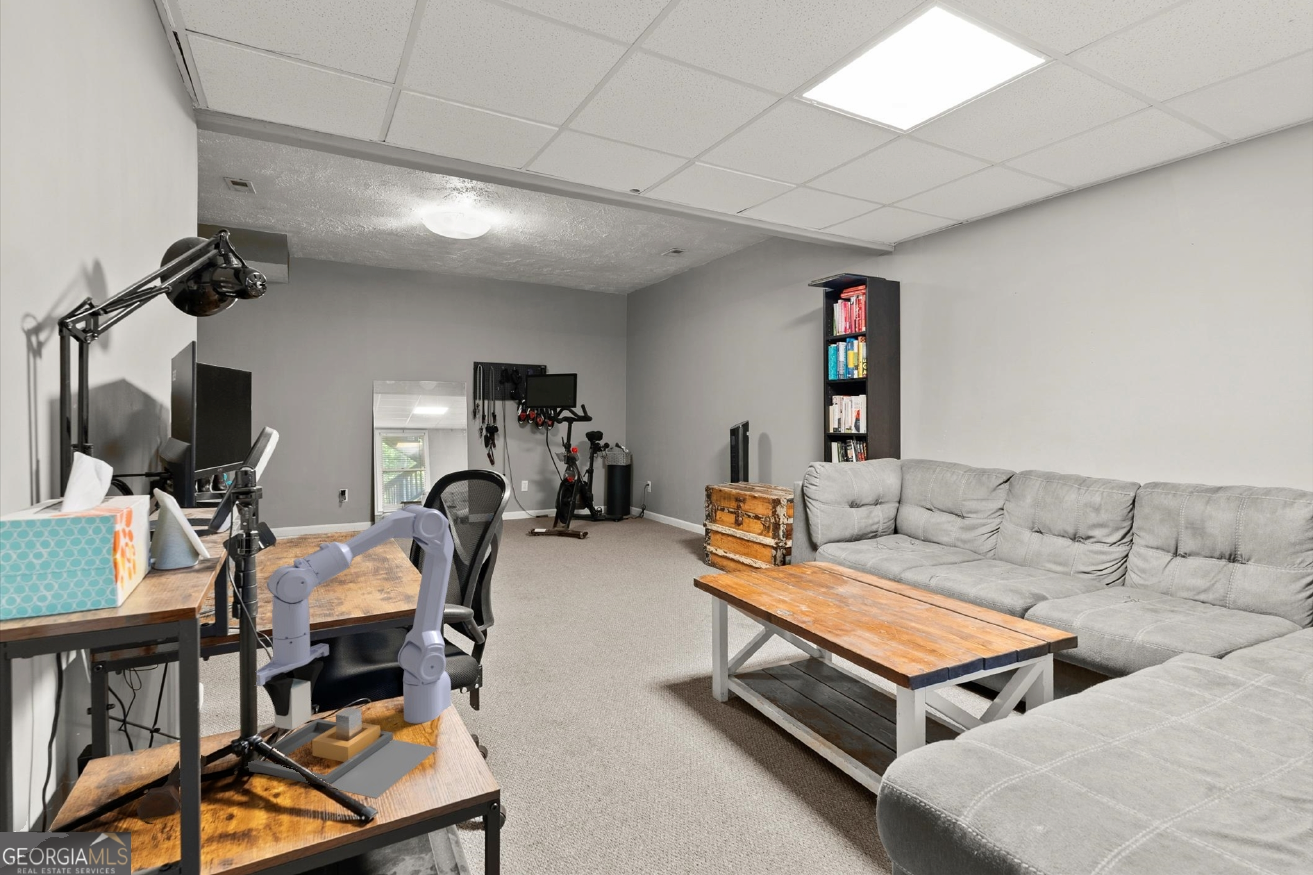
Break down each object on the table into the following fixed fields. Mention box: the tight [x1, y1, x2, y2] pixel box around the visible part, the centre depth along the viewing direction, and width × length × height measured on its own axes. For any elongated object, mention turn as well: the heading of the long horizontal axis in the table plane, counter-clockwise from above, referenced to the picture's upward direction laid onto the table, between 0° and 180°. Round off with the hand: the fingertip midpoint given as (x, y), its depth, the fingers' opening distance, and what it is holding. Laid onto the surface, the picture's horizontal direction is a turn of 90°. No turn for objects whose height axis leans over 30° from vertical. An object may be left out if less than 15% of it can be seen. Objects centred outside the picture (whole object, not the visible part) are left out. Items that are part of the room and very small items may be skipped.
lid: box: [330, 739, 439, 800], centre depth 111 cm, size 16×11×1 cm, turn 163°
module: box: [273, 678, 312, 731], centre depth 113 cm, size 4×4×7 cm
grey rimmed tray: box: [248, 718, 394, 785], centre depth 116 cm, size 16×18×4 cm
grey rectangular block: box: [335, 706, 363, 742], centre depth 117 cm, size 3×3×7 cm
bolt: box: [136, 754, 207, 825], centre depth 105 cm, size 6×5×15 cm
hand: (293, 708), depth 113 cm, fingers closed on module, 4 cm apart
